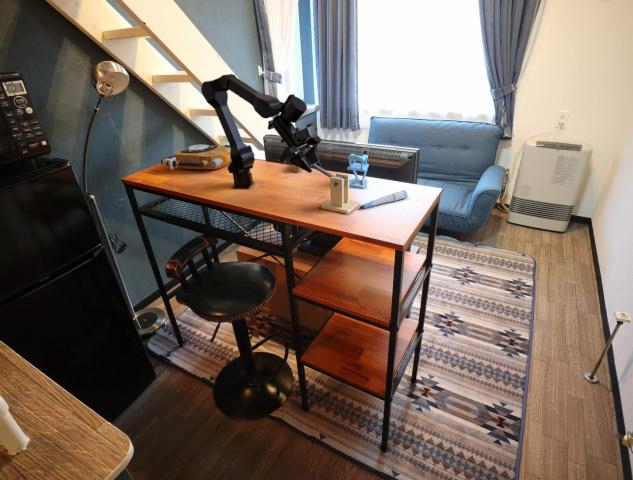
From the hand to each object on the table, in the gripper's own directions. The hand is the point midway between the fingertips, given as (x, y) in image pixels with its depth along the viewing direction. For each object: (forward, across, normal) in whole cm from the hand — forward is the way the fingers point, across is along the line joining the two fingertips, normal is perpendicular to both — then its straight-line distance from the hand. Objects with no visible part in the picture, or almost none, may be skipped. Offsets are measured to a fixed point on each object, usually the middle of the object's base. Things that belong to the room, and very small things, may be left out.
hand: (315, 169), depth 115 cm
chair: (+12, +22, +4) cm, 26 cm away
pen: (+23, +9, -8) cm, 26 cm away
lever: (+4, 0, -2) cm, 4 cm away
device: (-38, +10, +58) cm, 70 cm away
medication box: (-9, +27, +27) cm, 40 cm away
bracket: (+15, 0, +1) cm, 15 cm away
